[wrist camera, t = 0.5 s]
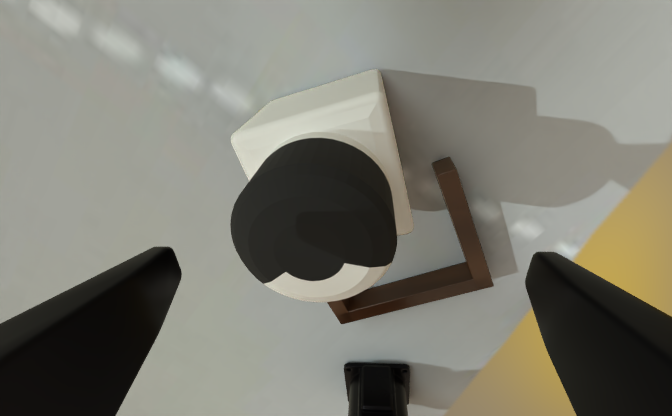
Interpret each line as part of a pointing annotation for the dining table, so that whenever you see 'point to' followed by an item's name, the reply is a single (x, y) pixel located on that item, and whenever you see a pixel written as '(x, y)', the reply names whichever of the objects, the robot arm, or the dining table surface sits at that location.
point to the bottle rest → (431, 283)
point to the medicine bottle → (321, 190)
